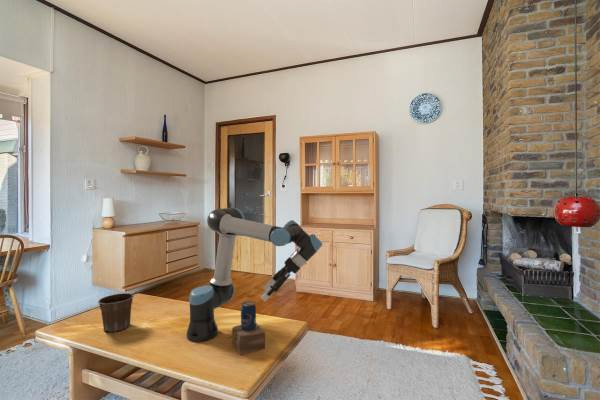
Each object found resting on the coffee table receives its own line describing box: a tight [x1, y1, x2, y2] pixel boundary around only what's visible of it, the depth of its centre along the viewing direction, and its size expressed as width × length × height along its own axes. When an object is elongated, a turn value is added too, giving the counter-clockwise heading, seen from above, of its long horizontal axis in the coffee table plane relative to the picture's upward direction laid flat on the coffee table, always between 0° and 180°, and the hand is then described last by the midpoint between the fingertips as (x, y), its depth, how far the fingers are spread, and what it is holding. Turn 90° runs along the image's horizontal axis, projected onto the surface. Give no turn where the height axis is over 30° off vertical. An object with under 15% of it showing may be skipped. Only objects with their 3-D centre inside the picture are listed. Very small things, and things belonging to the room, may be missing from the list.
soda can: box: [240, 301, 257, 332], centre depth 140 cm, size 7×7×12 cm
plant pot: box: [97, 292, 134, 333], centre depth 160 cm, size 16×16×16 cm
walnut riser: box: [231, 322, 266, 356], centre depth 140 cm, size 12×12×8 cm
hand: (263, 294), depth 140 cm, fingers open, 13 cm apart
